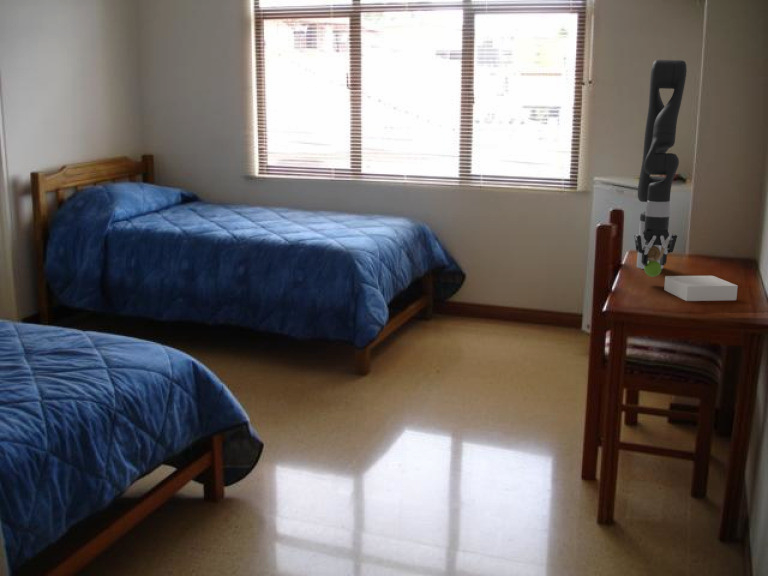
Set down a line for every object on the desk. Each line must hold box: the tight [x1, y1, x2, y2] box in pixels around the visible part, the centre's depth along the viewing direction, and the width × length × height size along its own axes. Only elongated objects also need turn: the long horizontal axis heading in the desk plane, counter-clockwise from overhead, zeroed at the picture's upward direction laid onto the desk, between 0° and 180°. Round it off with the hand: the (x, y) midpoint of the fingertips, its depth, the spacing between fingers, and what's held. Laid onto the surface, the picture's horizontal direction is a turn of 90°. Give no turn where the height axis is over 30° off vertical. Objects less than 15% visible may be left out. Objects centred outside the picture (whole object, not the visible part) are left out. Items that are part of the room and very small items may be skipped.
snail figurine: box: [643, 240, 667, 278], centre depth 270 cm, size 5×6×12 cm
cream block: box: [663, 275, 739, 302], centre depth 258 cm, size 16×16×5 cm
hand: (653, 265), depth 271 cm, fingers closed on snail figurine, 5 cm apart
